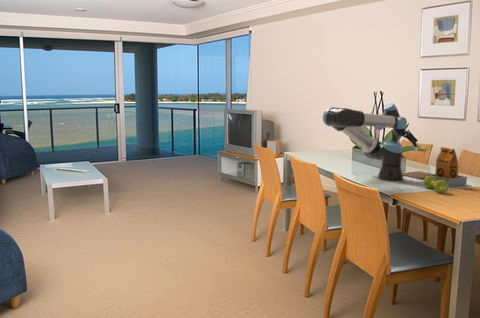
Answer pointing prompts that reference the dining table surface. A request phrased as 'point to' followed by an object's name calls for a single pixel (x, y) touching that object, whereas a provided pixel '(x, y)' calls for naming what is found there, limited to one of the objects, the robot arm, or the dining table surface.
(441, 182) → the dumbbell
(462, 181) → the tray
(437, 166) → the coffee package
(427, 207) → the dining table surface
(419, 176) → the board
